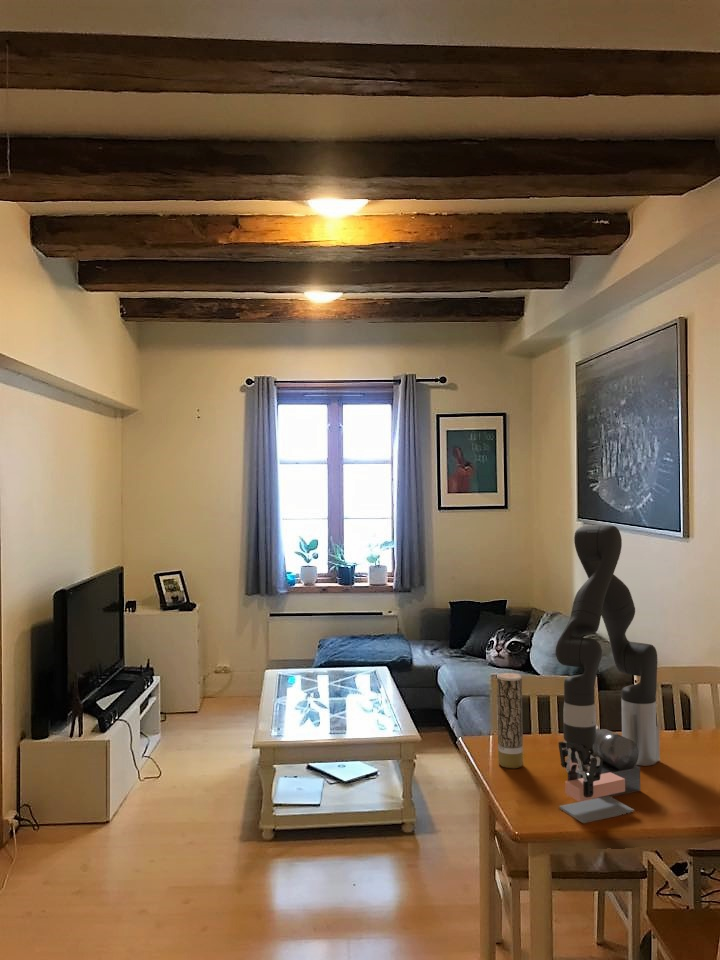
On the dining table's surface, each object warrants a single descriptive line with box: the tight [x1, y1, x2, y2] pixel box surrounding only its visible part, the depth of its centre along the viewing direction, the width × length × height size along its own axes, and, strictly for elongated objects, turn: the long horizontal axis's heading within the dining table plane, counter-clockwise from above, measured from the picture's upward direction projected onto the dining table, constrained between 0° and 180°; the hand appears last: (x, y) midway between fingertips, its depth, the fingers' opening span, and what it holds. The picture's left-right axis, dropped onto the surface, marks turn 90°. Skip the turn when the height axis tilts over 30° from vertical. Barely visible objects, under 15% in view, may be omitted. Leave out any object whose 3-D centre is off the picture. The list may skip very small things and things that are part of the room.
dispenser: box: [576, 728, 641, 798], centre depth 201 cm, size 13×10×14 cm
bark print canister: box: [496, 672, 524, 769], centre depth 218 cm, size 7×7×25 cm
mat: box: [558, 796, 635, 824], centre depth 187 cm, size 15×9×1 cm, turn 112°
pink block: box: [564, 772, 625, 802], centre depth 187 cm, size 14×5×3 cm, turn 115°
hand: (580, 791), depth 185 cm, fingers closed on pink block, 5 cm apart
